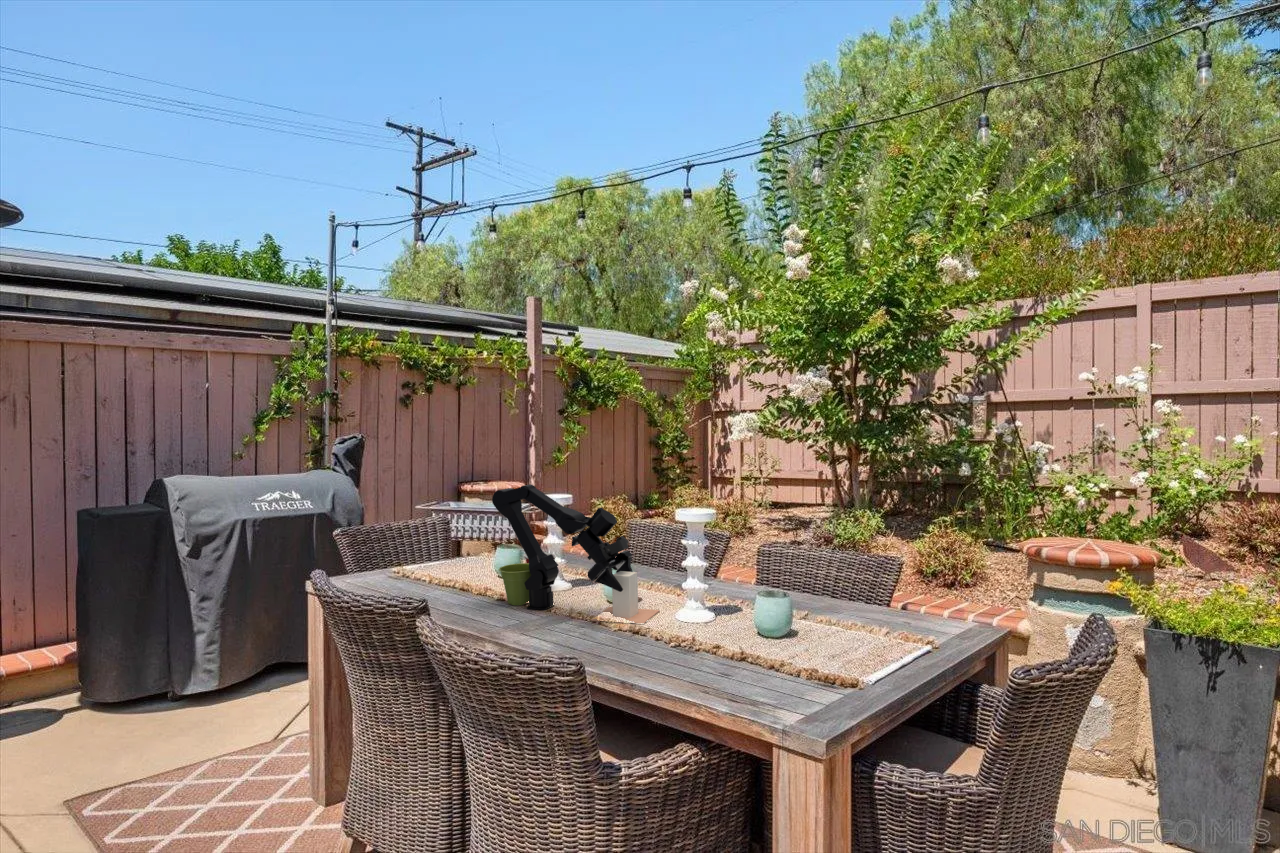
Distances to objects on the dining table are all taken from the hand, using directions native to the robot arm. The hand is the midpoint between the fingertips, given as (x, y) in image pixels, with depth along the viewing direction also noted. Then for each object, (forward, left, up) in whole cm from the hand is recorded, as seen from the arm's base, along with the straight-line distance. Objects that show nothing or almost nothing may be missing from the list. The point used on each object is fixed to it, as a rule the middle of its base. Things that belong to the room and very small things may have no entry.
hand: (629, 587), depth 229 cm
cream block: (-1, 0, -8) cm, 8 cm away
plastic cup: (-40, +23, -9) cm, 47 cm away
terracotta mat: (-1, 0, -9) cm, 9 cm away
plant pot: (-39, +6, -9) cm, 41 cm away
